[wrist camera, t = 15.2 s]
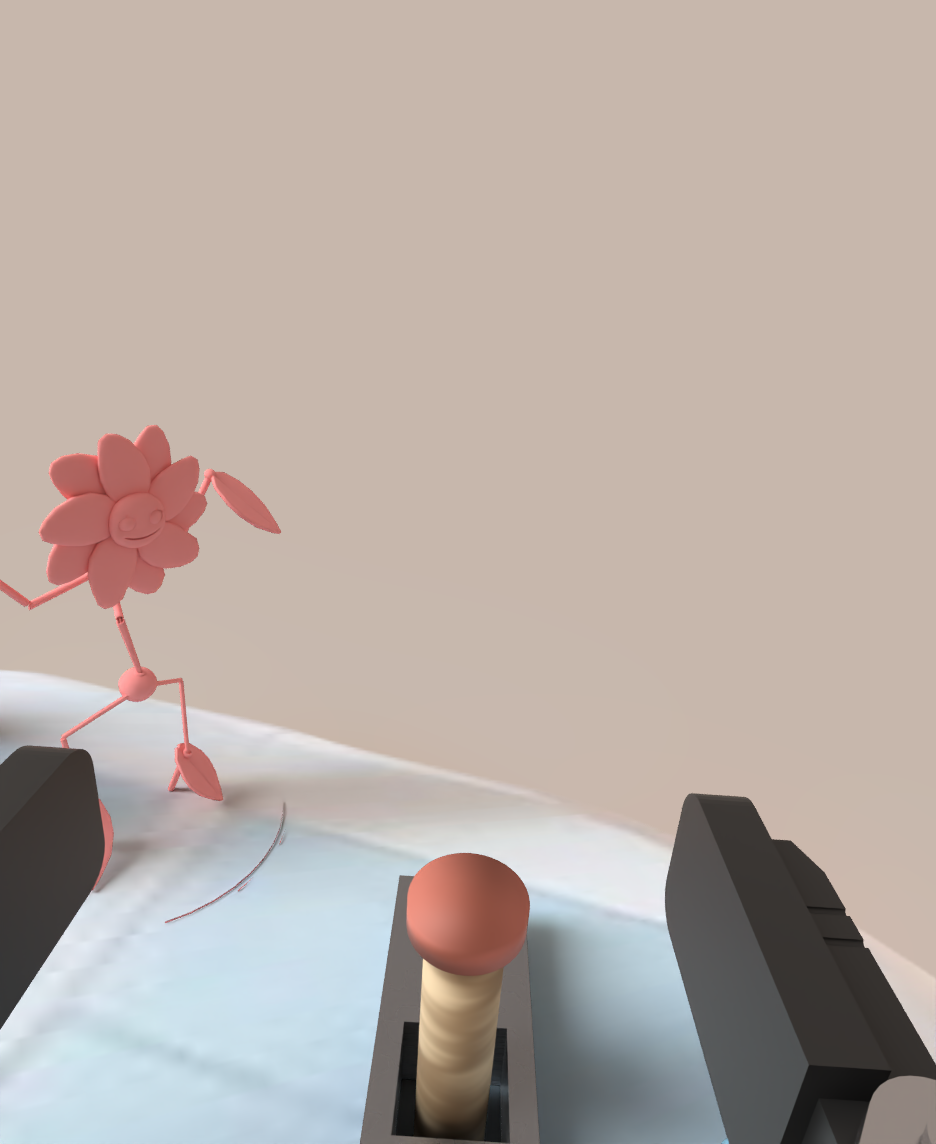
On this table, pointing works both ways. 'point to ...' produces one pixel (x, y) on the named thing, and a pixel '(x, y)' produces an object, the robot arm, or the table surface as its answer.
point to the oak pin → (461, 984)
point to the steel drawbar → (402, 1037)
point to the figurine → (135, 555)
